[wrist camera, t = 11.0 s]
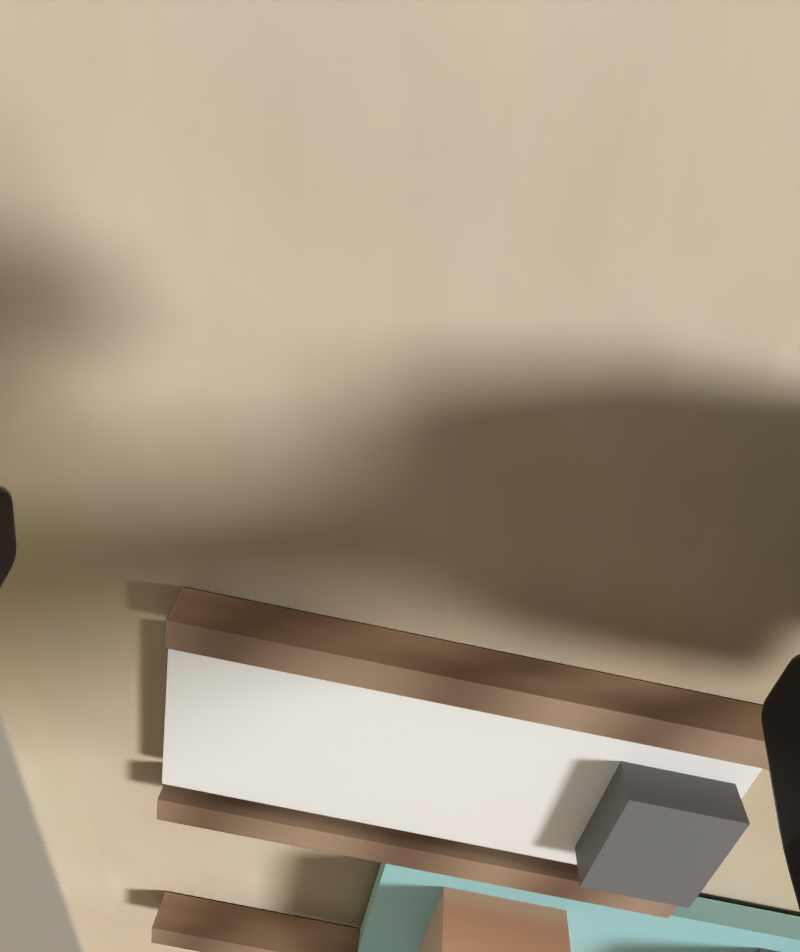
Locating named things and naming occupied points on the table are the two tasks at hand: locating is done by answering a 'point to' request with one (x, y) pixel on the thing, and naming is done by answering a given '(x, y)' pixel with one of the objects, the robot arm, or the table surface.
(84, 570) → the table surface
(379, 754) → the strip
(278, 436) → the table surface
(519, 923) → the cube
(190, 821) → the lane rails
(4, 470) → the table surface
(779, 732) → the robot arm
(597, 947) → the strip
